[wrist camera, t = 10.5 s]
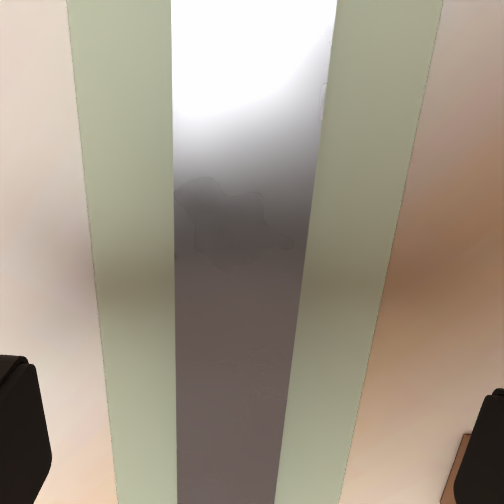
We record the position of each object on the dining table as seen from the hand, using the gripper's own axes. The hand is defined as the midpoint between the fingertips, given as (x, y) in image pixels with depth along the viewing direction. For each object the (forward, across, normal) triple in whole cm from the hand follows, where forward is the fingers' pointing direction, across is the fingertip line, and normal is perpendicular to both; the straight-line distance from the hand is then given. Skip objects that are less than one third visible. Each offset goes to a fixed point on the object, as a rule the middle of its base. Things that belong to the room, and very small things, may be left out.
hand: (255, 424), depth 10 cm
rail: (+5, +1, 0) cm, 5 cm away
